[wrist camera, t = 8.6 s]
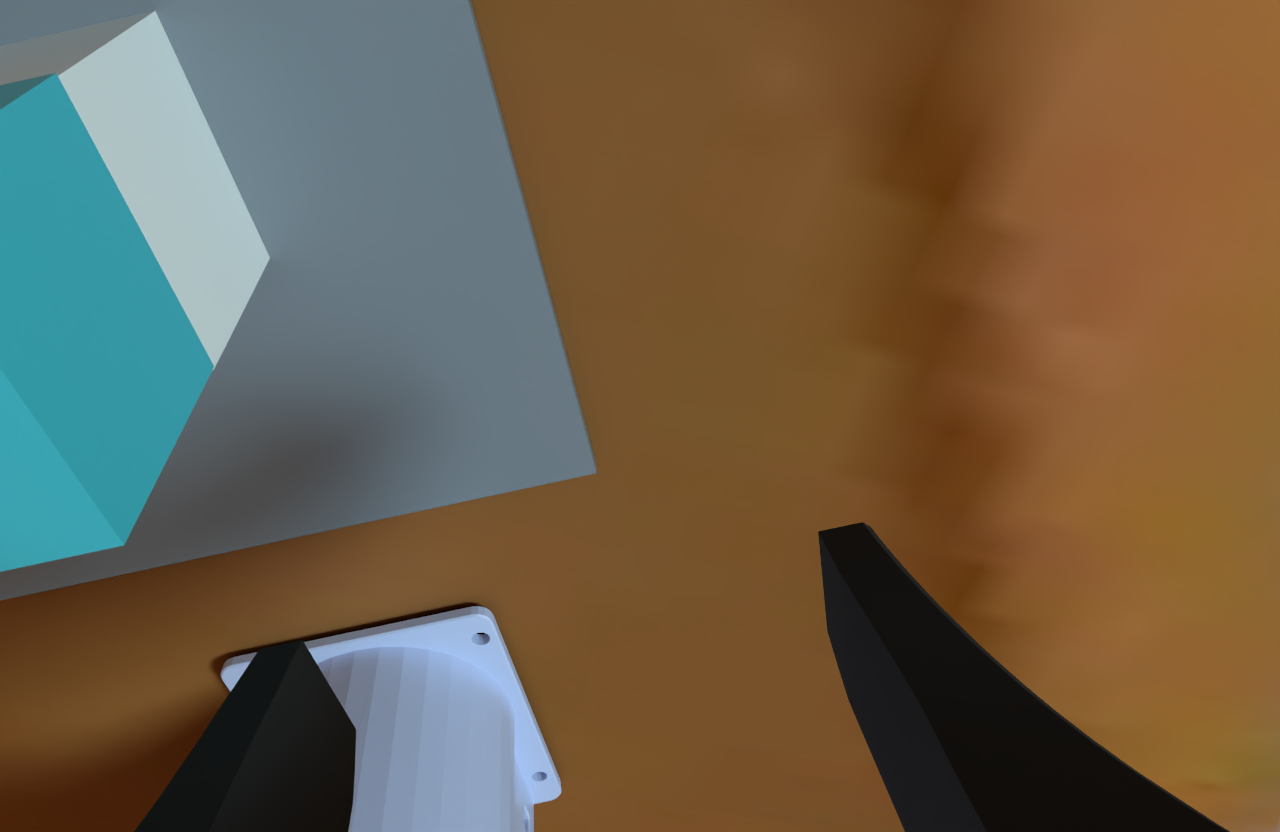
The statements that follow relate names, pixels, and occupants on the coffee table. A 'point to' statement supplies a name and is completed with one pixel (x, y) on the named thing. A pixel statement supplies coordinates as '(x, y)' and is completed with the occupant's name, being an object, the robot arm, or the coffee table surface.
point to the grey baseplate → (349, 282)
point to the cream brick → (157, 161)
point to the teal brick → (79, 340)
